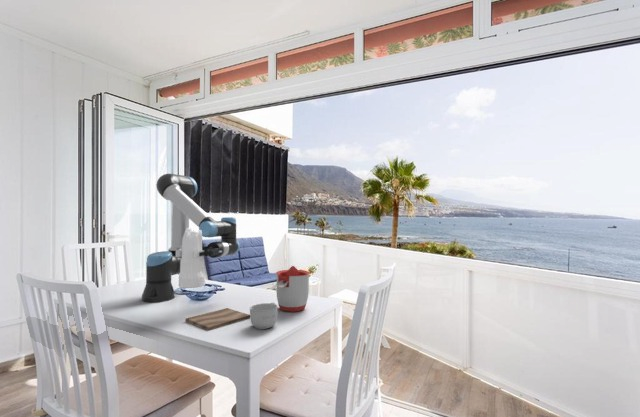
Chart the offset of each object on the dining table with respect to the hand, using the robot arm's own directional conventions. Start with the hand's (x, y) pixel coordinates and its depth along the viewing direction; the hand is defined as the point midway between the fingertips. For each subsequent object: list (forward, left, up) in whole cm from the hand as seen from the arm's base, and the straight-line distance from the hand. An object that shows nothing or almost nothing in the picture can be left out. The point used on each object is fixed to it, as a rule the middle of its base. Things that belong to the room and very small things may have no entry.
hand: (184, 254), depth 140 cm
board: (+14, +8, -27) cm, 31 cm away
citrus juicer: (+26, +39, -27) cm, 54 cm away
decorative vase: (-2, +4, -14) cm, 15 cm away
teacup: (+34, +16, -27) cm, 46 cm away
